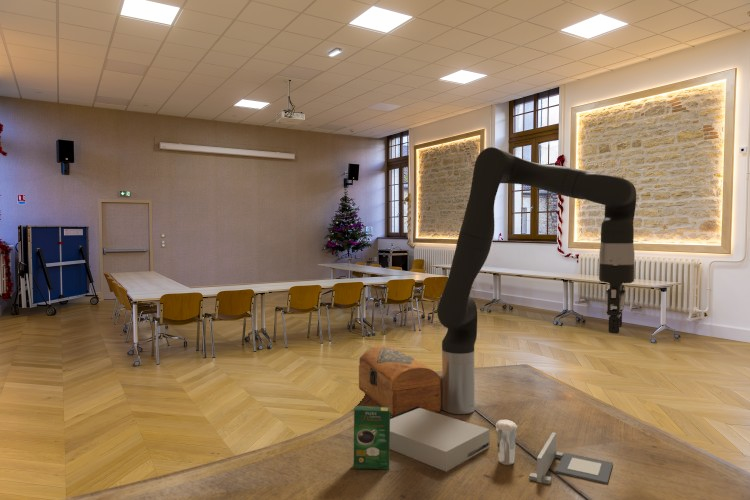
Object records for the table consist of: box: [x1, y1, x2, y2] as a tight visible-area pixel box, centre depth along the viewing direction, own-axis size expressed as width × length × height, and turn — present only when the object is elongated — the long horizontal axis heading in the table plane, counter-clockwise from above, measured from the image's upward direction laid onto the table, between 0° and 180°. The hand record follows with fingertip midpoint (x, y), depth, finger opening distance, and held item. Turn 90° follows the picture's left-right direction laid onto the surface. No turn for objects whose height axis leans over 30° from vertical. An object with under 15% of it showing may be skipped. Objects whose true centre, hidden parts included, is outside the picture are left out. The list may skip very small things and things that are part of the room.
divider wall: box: [528, 431, 564, 485], centre depth 107 cm, size 4×15×5 cm, turn 149°
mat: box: [555, 452, 613, 485], centre depth 106 cm, size 10×10×1 cm
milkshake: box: [495, 417, 521, 466], centre depth 109 cm, size 5×5×10 cm
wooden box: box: [358, 345, 442, 417], centre depth 153 cm, size 30×16×14 cm, turn 20°
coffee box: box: [353, 405, 391, 471], centre depth 108 cm, size 8×3×13 cm, turn 87°
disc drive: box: [389, 406, 491, 472], centre depth 119 cm, size 18×22×5 cm
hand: (615, 329), depth 118 cm, fingers open, 8 cm apart
